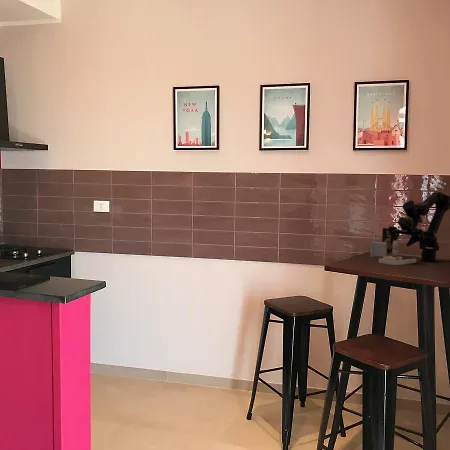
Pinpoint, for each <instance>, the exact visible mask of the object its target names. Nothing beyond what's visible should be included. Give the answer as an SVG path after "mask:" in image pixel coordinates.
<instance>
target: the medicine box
mask: <svg viewBox="0 0 450 450" xmlns="http://www.w3.org/2000/svg"><path fill="white" fill-rule="evenodd" d="M386 251H387V243H384V242H381V241H370V253H369V254H370V256H369V257H370V258H372V257H382V258H383V257H386Z"/></svg>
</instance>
